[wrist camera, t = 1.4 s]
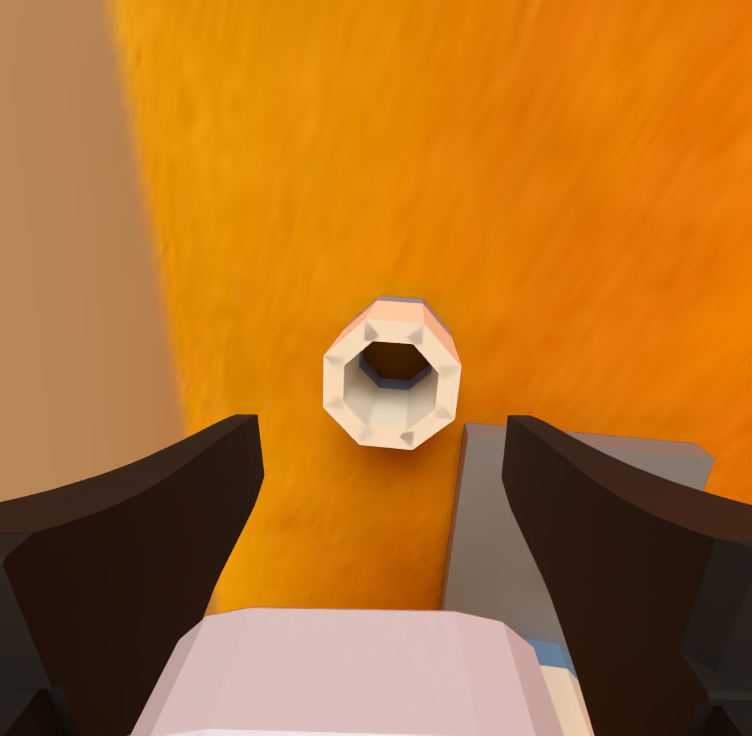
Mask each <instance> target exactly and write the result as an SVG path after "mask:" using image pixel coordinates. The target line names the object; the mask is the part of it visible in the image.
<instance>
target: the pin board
mask: <svg viewBox="0 0 752 736" xmlns="http://www.w3.org/2000/svg"><path fill="white" fill-rule="evenodd" d="M506 428H507V426H497V425H486V424H475V423H465V426H464V433H463V441H462V448H461V455H460V463H459V470H458V477H457V485H456V492H455V499H454V506H453V514H452V521H451V528H450V536H449V543H448V550H447V558H446V565H445V572H444V580H443V587H442V594H441V602H440V609H439V610H454V611H459V612H464V613H468V614H473V615H477V616H482V617H486V618H491V619H495V620H498V621H501V622H503V623H504V624H506V625H507V626H508V627H509V628H510V629H512V630H513V631H514V632H515V633H516V634H518V635H519V636H520V637H521V638H523V639H527V640H535V641H543V642H550V643H558V644H559V645H560V646H561V647H562V648H563V649H564V650H565V651H566V652H567V653H568V654H569V651H568V647H567V644H566V641H565V638H564V635H563V632H562V629H561V626H560V623H559V620H558V617H557V615H556V612H555V609H554V606H553V603H552V600H551V597H550V594H549V592H548V590H547V587H546V585H545V582H544V580H543V578H542V575H541V573H540V571H539V569H538V567H537V565H536V563H535V560H534V558H533V556H532V554H531V552H530V550H529V548H528V545H527V543H526V541H525V539H524V537H523V535H522V533H521V530H520V528H519V526H518V524H517V522H516V519H515V517H514V515H513V513H512V510H511V508H510V505H509V502H508V499H507V496H506V492H505V489H504V485H503V482H502V478H501V475H502V466H503V456H504V447H505V438H506ZM565 433H566V434H568V435H570V436H572V437H574V438H576V439H578V440H580V441H582V442H583V443H585V444H587V445H589V446H591V447H593V448H595V449H597V450H599V451H601V452H603V453H605V454H608V455H610V456H612V457H614V458H616V459H618V460H620V461H623V462H625V463H627V464H629V465H632V466H634V467H636V468H639V469H641V470H644V471H647V472H649V473H652V474H654V475H657V476H659V477H662V478H665V479H667V480H670V481H673V482H676V483H679V484H682V485H685V486H688V487H691V488H694V489H697V490H701V491H703V490H704V487H705V484H706V482H707V479H708V476H709V474H710V471H711V468H712V465H713V463H714V460H715V458H714V457H712V456H711V455H710V454H708V453H707V452H706V451H704V450H703V449H702V448H700V447H699V446H698V445H696V444H694V443H683V442H672V441H661V440H650V439H639V438H629V437H618V436H607V435H596V434H585V433H574V432H565ZM569 655H570V654H569Z"/></svg>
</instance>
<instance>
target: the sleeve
mask: <svg viewBox="0 0 752 736" xmlns="http://www.w3.org/2000/svg"><path fill="white" fill-rule="evenodd" d="M372 341H379V342H392V343H405V344H413V345H414V346H415V347H416V348H417V349H418V350H419V351H420V353H421V354H422V355H423V356H424V357H425V358H426V359H427V360H428V362H429V363H430V364H429V365H427V366H426V367H425V368H424V369H422V370H421V371H420V372H419V373H417V374H416V375H415V376H414V377H412V378H411V379H410V380H401V379H389V378H381V377H380V376H379V375H378V374H377V372H376V371H375V370H374V369H373V368H372V367H371V366H370V365H369V364H368V363H367V362H366V360H365V359H364V358H363V349H364V348H365V347H367V346H368V345H369V344H370V343H371V342H372ZM460 374H461V364H460V361H459V358H458V355H457V352H456V349H455V346H454V343H453V340H452V336H451V333H450V331H449V329H448V328H447V327H446V326H445V325H444V324H443V322H442V321H441V320H440V319H439V318H438V316H437V315H436V314H435V313H434V312H433V311H432V309H431V308H430V307H429V306H428V305H427V304H426V302H425V301H424V300H423V299H417V298H403V297H388V296H379V297H378V298H377V299H376V300H375V301H374V302H373V303H371V304H370V305H369V306H368V307H367V308H366V309H365V310H364V311H362V312H361V313H360V314H359V315H358V316H357V317H356V318H355V319H353V320H352V321H351V322H350V323H349V324H348V325H347V327H346V328H345V329H344V331H343V332H342V333H341V334H340V336H339V337H338V338H337V339H336V341H335V342H334V343H333V345H332V346H331V347H330V348H329V350H328V351H327V352H326V353H325V355H324V378H323V408H324V409H325V410H326V411H327V412H328V413H329V414H330V415H331V416H332V417H333V418H334V419H335V420H336V421H337V422H338V423H339V424H340V425H341V426H342V427H343V428H344V429H345V430H346V431H347V432H348V434H349V435H350V436H351V437H352V438H353V439H354V440H355V441H356V442H357V443H358V444H359V445H366V446H376V447H387V448H397V449H407V450H413V449H414V448H416V447H417V446H419V445H420V444H421V443H423V442H424V441H425V440H427V439H428V438H430V437H431V436H432V435H434V434H435V433H436V432H438V431H439V430H441V429H442V428H443V427H445V426H446V425H448V424H449V423H450V422H452V421H453V420H454V419H455V413H456V405H457V397H458V390H459V382H460Z"/></svg>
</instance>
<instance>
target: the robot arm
mask: <svg viewBox="0 0 752 736" xmlns="http://www.w3.org/2000/svg"><path fill="white" fill-rule="evenodd" d="M501 478H502V482H503V485H504V489H505V492H506V496H507V499H508V502H509V505H510V508H511V510H512V513H513V515H514V517H515V519H516V522H517V524H518V526H519V528H520V530H521V533H522V535H523V537H524V539H525V541H526V543H527V545H528V548H529V550H530V552H531V554H532V556H533V558H534V560H535V563H536V565H537V567H538V569H539V571H540V573H541V575H542V578H543V580H544V582H545V585H546V587H547V590H548V592H549V594H550V597H551V600H552V603H553V606H554V609H555V612H556V615H557V617H558V620H559V623H560V626H561V629H562V632H563V635H564V638H565V641H566V644H567V647H568V651H569V654H570V657H571V660H572V663H573V666H574V669H575V672H576V676H577V679H578V682H579V685H580V689H581V692H582V695H583V699H584V702H585V706H586V709H587V712H588V716H589V719H590V723H591V726H592V729H593V733H594V736H752V505H749V504H745V503H742V502H738V501H734V500H731V499H727V498H724V497H720V496H717V495H713V494H710V493H707V492H704V491H701V490H697V489H694V488H691V487H688V486H685V485H682V484H679V483H676V482H673V481H670V480H667V479H665V478H662V477H659V476H657V475H654V474H652V473H649V472H647V471H644V470H641V469H639V468H636V467H634V466H632V465H629V464H627V463H625V462H623V461H620V460H618V459H616V458H614V457H612V456H610V455H608V454H605V453H603V452H601V451H599V450H597V449H595V448H593V447H591V446H589V445H587V444H585V443H583V442H582V441H580V440H578V439H576V438H574V437H572V436H570V435H568V434H566V433H565V432H563V431H561V430H559V429H557V428H555V427H553V426H552V425H550V424H548V423H546V422H544V421H542V420H540V419H537V418H535V417H533V416H530V415H508V419H507V428H506V438H505V447H504V456H503V466H502V475H501ZM263 479H264V467H263V459H262V450H261V442H260V433H259V425H258V416H257V415H242V414H237V415H234V416H231V417H228V418H226V419H224V420H222V421H219V422H217V423H215V424H213V425H211V426H209V427H207V428H205V429H203V430H202V431H200V432H198V433H196V434H194V435H192V436H190V437H188V438H186V439H184V440H182V441H180V442H178V443H176V444H173V445H171V446H169V447H167V448H165V449H163V450H160V451H158V452H156V453H154V454H152V455H150V456H148V457H145V458H143V459H141V460H138V461H136V462H133V463H131V464H128V465H126V466H123V467H120V468H118V469H115V470H112V471H110V472H107V473H104V474H101V475H98V476H95V477H92V478H88V479H85V480H82V481H79V482H75V483H73V484H69V485H66V486H62V487H59V488H56V489H52V490H49V491H45V492H41V493H37V494H33V495H29V496H25V497H21V498H17V499H12V500H8V501H3V502H0V736H564V734H563V731H562V728H561V725H560V722H559V720H558V717H557V714H556V711H555V708H554V705H553V702H552V699H551V697H550V694H549V691H548V688H547V685H546V682H545V679H544V676H543V673H542V671H541V668H540V665H539V662H538V659H537V656H536V653H535V650H534V648H533V647H532V646H531V645H530V644H529V643H527V642H526V641H525V640H524V639H523V638H521V637H520V636H519V635H518V634H516V633H515V632H514V631H513V630H512V629H510V628H509V627H508V626H507V625H506V624H504V623H503V622H501V621H498V620H495V619H491V618H486V617H482V616H477V615H473V614H468V613H464V612H459V611H454V610H405V609H350V608H294V607H251V608H245V609H240V610H235V611H230V612H224V613H219V614H214V615H211V616H207V617H205V618H204V619H203V617H204V614H205V611H206V609H207V606H208V603H209V601H210V598H211V595H212V593H213V590H214V588H215V585H216V583H217V581H218V579H219V577H220V574H221V572H222V570H223V568H224V566H225V564H226V562H227V560H228V558H229V556H230V554H231V552H232V550H233V548H234V546H235V544H236V542H237V540H238V538H239V536H240V534H241V532H242V530H243V528H244V526H245V524H246V522H247V520H248V518H249V516H250V514H251V512H252V510H253V508H254V506H255V503H256V500H257V497H258V494H259V491H260V488H261V485H262V482H263ZM202 619H203V620H202Z"/></svg>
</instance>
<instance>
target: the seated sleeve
mask: <svg viewBox="0 0 752 736" xmlns="http://www.w3.org/2000/svg"><path fill="white" fill-rule="evenodd" d="M524 640H525V641H526V642H527V643H529V644H530V645H531V646H532V647H533V648H534V650H535V653H536V656H537V659H538V662H539V665H540V668H541V671H542V673H543V676H544V679H545V682H546V685H547V688H548V691H549V694H550V697H551V699H552V702H553V705H554V708H555V711H556V714H557V717H558V720H559V722H560V725H561V728H562V731H563V734H564V736H594V733H593V729H592V726H591V723H590V719H589V716H588V712H587V709H586V706H585V702H584V699H583V695H582V692H581V689H580V685H579V682H578V679H577V676H576V672H575V669H574V666H573V663H572V660H571V657H570V655H569V654H568V653H567V652H566V651H565V650H564V649H563V648H562V647H561V646H560V645H559V644H558V643H550V642H543V641H535V640H527V639H524Z"/></svg>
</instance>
